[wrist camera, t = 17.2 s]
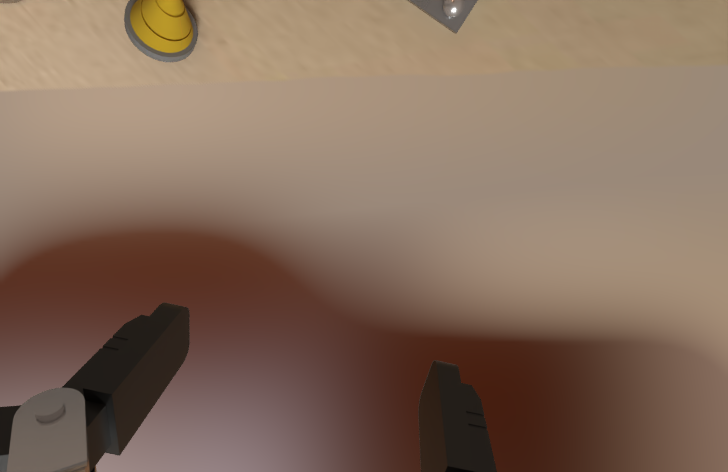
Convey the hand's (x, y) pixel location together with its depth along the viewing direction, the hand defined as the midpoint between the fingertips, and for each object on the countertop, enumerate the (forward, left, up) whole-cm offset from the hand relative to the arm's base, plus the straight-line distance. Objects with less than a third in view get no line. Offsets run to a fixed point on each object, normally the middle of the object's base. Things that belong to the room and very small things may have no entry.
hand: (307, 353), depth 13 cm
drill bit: (-20, +1, -28) cm, 35 cm away
